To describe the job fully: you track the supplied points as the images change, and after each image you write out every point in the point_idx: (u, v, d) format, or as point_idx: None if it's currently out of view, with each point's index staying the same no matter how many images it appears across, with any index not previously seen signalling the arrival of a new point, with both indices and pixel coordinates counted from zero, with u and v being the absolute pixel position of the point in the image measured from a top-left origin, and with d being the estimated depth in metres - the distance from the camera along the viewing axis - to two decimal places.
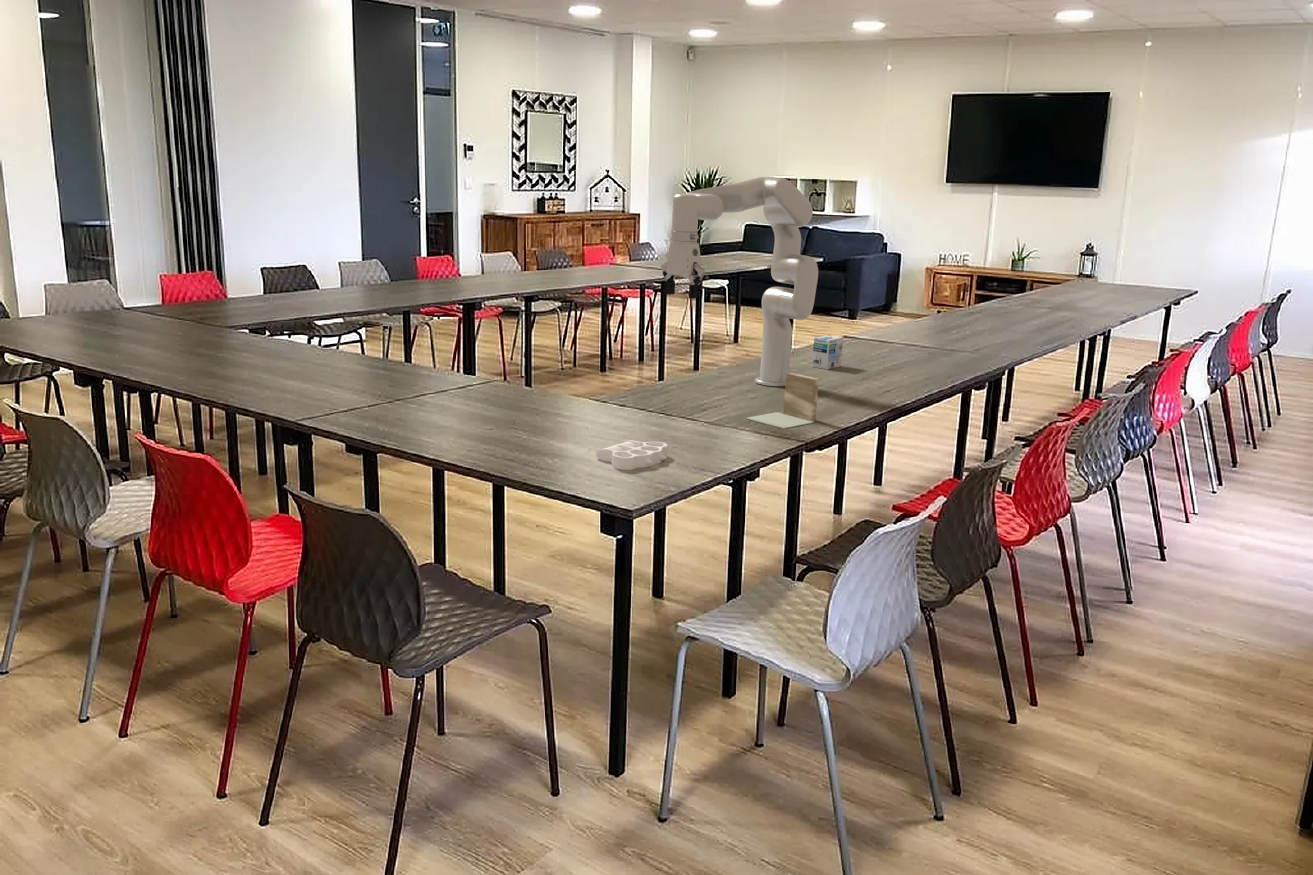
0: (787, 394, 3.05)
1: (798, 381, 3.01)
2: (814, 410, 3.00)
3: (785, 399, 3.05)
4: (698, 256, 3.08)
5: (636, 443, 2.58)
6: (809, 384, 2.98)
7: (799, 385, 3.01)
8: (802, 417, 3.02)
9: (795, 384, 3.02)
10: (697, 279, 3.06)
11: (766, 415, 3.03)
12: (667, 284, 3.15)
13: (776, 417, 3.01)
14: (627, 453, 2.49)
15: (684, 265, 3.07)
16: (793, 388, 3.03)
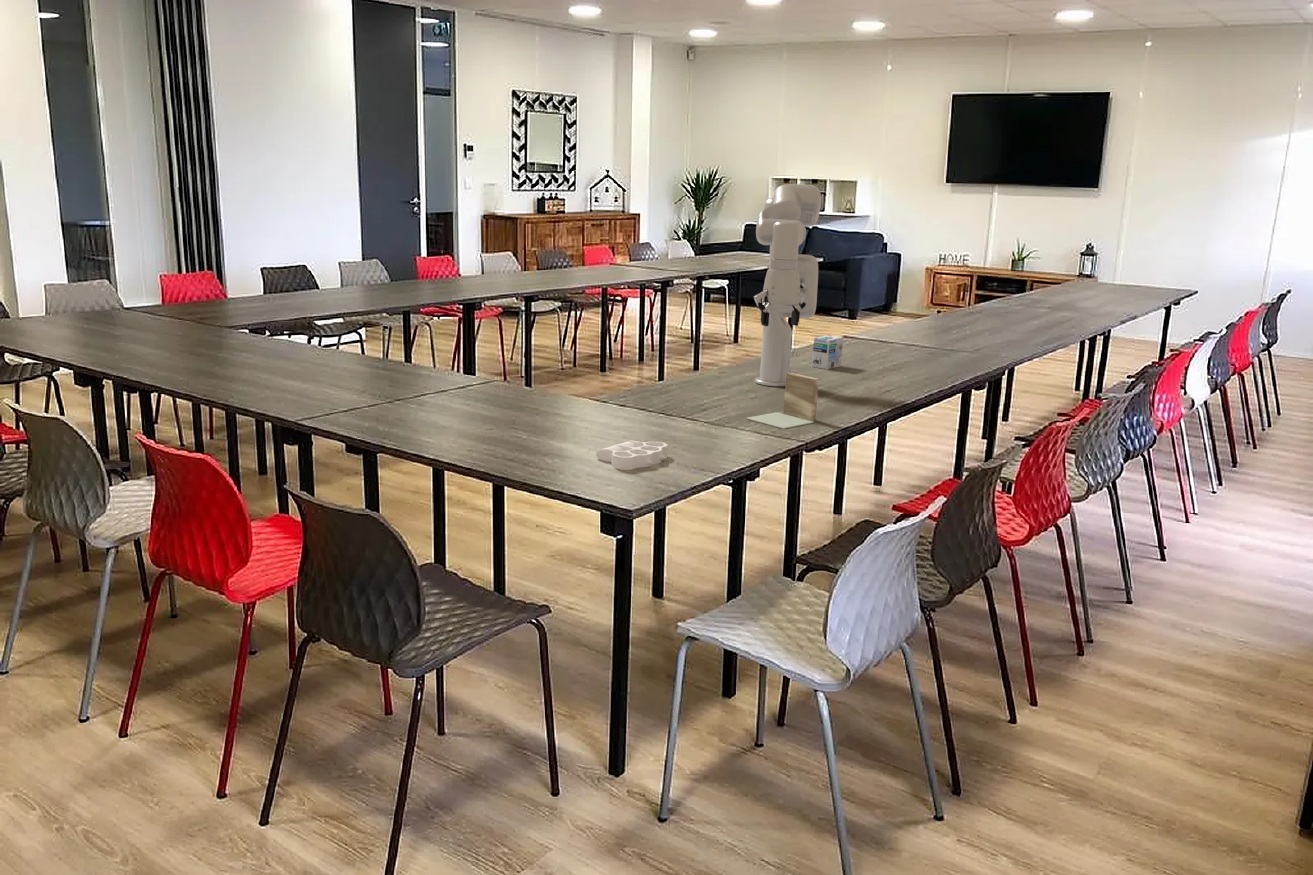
0: (787, 394, 3.05)
1: (798, 381, 3.01)
2: (814, 410, 3.00)
3: (785, 399, 3.05)
4: None
5: (636, 443, 2.58)
6: (809, 384, 2.98)
7: (799, 385, 3.01)
8: (802, 417, 3.02)
9: (795, 384, 3.02)
10: (804, 305, 3.06)
11: (766, 415, 3.03)
12: (768, 315, 3.02)
13: (776, 417, 3.01)
14: (627, 453, 2.49)
15: (794, 293, 3.03)
16: (793, 388, 3.03)
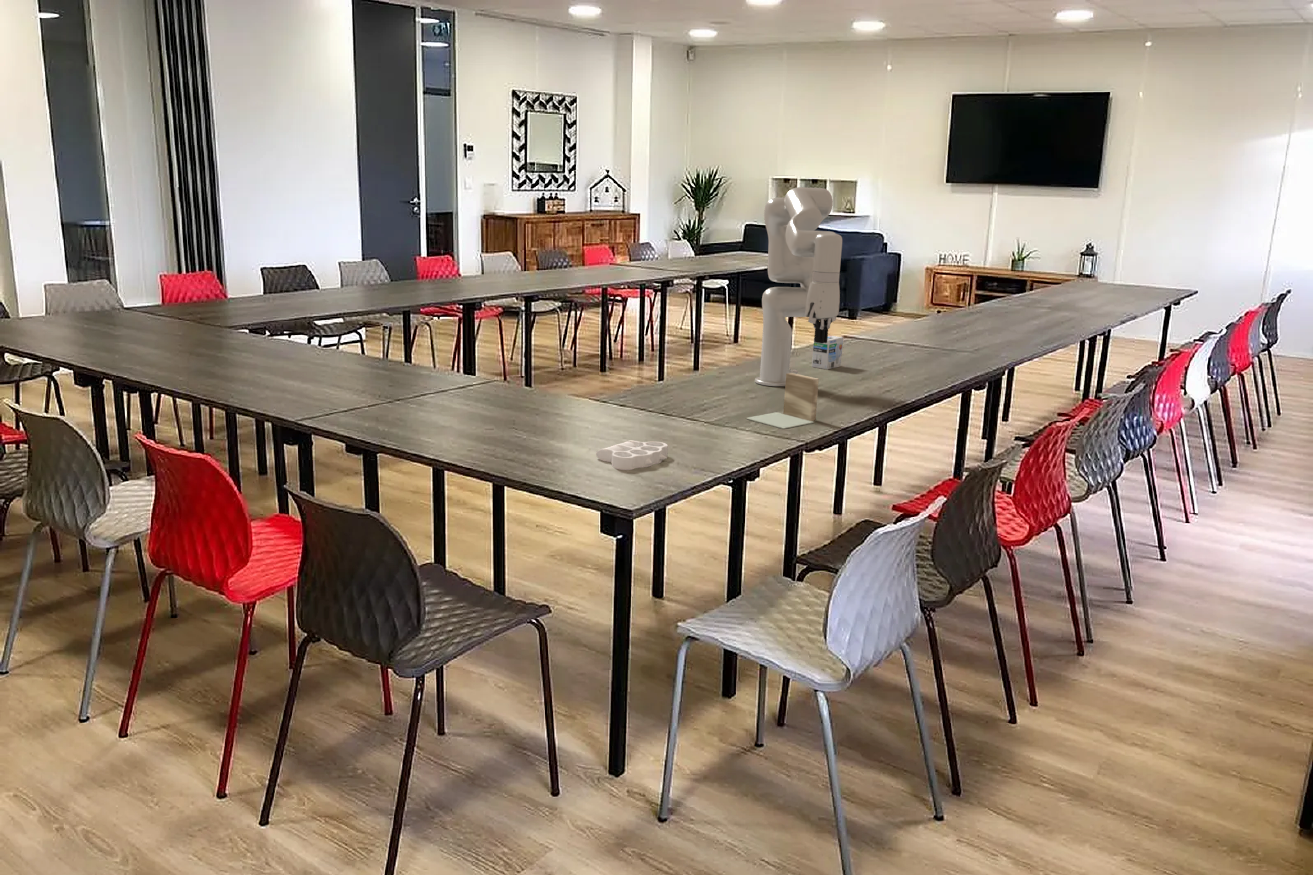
0: (787, 394, 3.05)
1: (798, 381, 3.01)
2: (814, 410, 3.00)
3: (785, 399, 3.05)
4: None
5: (636, 443, 2.58)
6: (809, 384, 2.98)
7: (799, 385, 3.01)
8: (802, 417, 3.02)
9: (795, 384, 3.02)
10: (830, 322, 3.03)
11: (766, 415, 3.03)
12: (824, 332, 3.01)
13: (776, 417, 3.01)
14: (627, 453, 2.49)
15: (836, 305, 3.01)
16: (793, 388, 3.03)
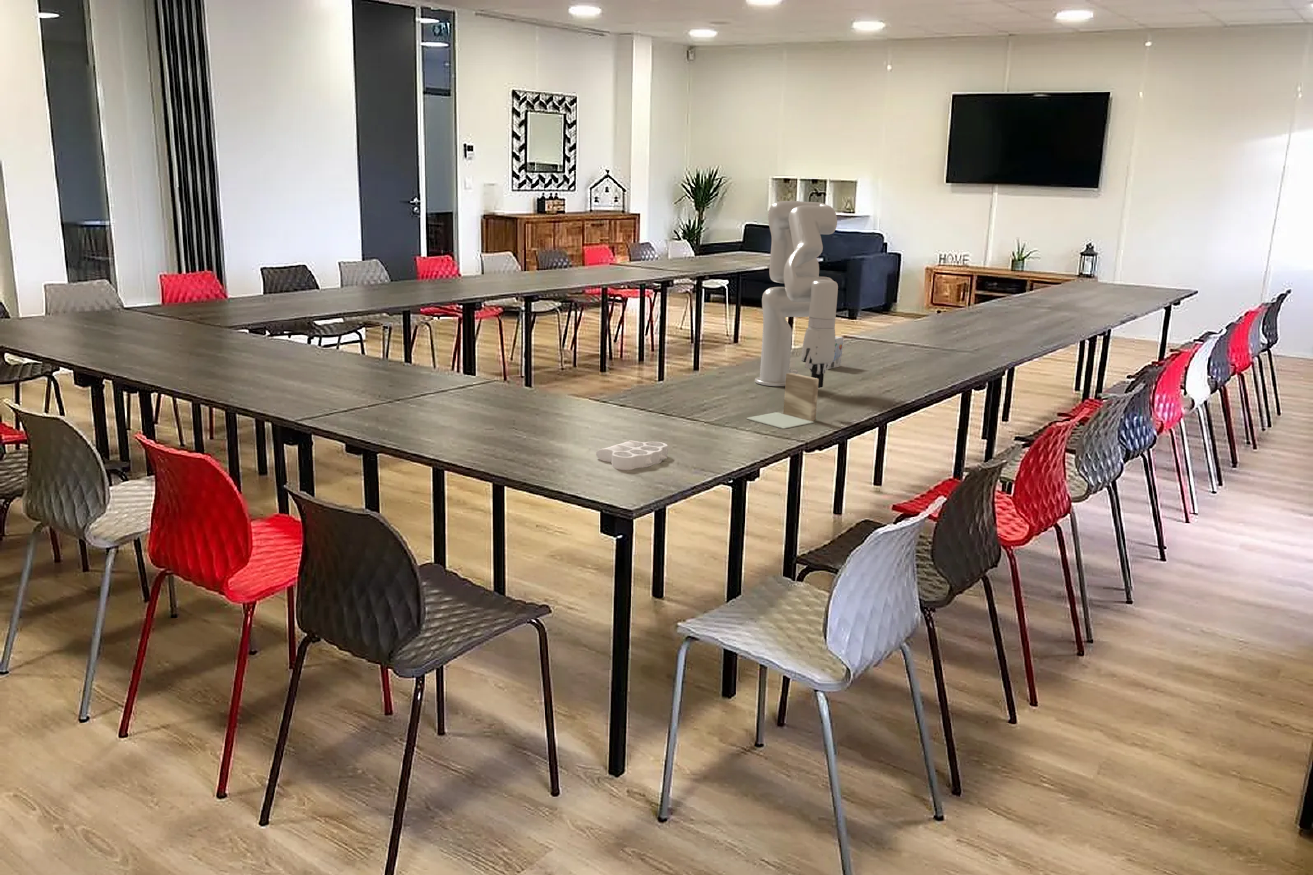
0: (787, 394, 3.05)
1: (798, 381, 3.01)
2: (814, 410, 3.00)
3: (785, 399, 3.05)
4: None
5: (636, 443, 2.58)
6: (809, 384, 2.98)
7: (799, 385, 3.01)
8: (802, 417, 3.02)
9: (795, 384, 3.02)
10: (826, 366, 3.06)
11: (766, 415, 3.03)
12: (820, 377, 3.05)
13: (776, 417, 3.01)
14: (627, 453, 2.49)
15: (832, 350, 3.04)
16: (793, 388, 3.03)
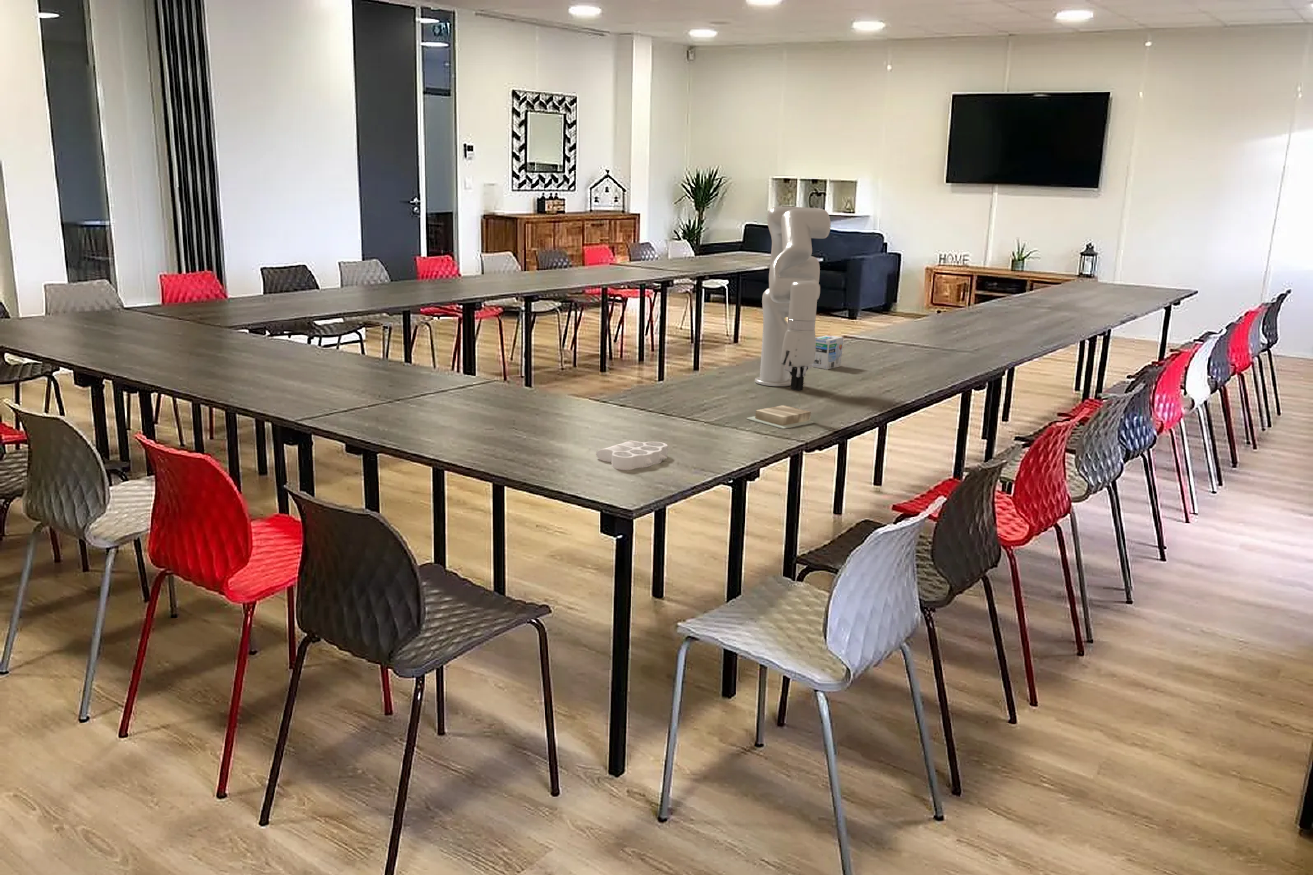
0: None
1: None
2: (803, 416, 2.97)
3: None
4: None
5: (636, 443, 2.58)
6: None
7: None
8: None
9: None
10: (806, 369, 3.00)
11: None
12: (800, 380, 2.99)
13: None
14: (627, 453, 2.49)
15: (812, 353, 2.98)
16: None
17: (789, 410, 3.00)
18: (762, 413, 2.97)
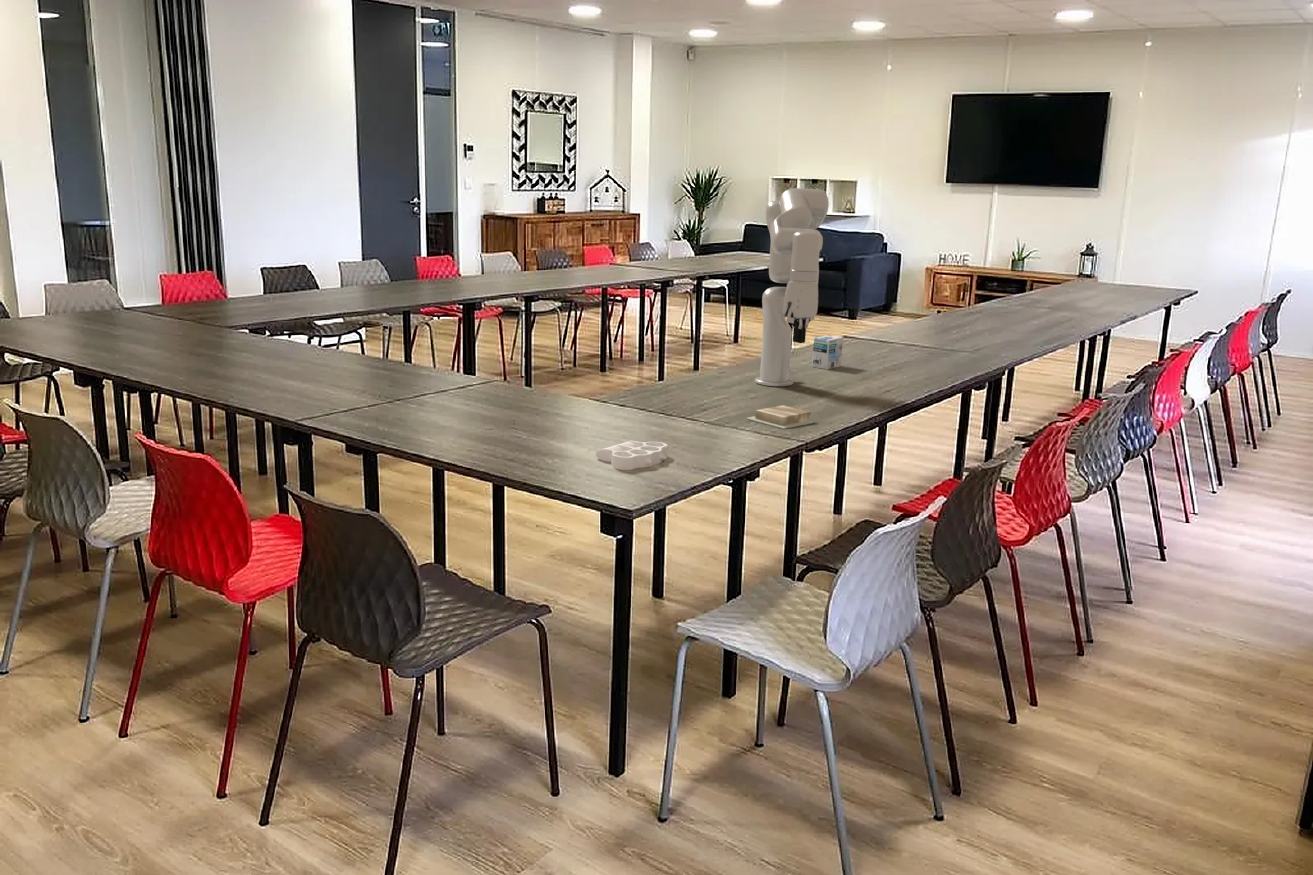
0: None
1: None
2: (803, 416, 2.97)
3: None
4: None
5: (636, 443, 2.58)
6: None
7: None
8: None
9: None
10: (808, 321, 2.98)
11: None
12: (802, 332, 2.96)
13: None
14: (627, 453, 2.49)
15: (814, 304, 2.96)
16: None
17: (789, 410, 3.00)
18: (762, 413, 2.97)
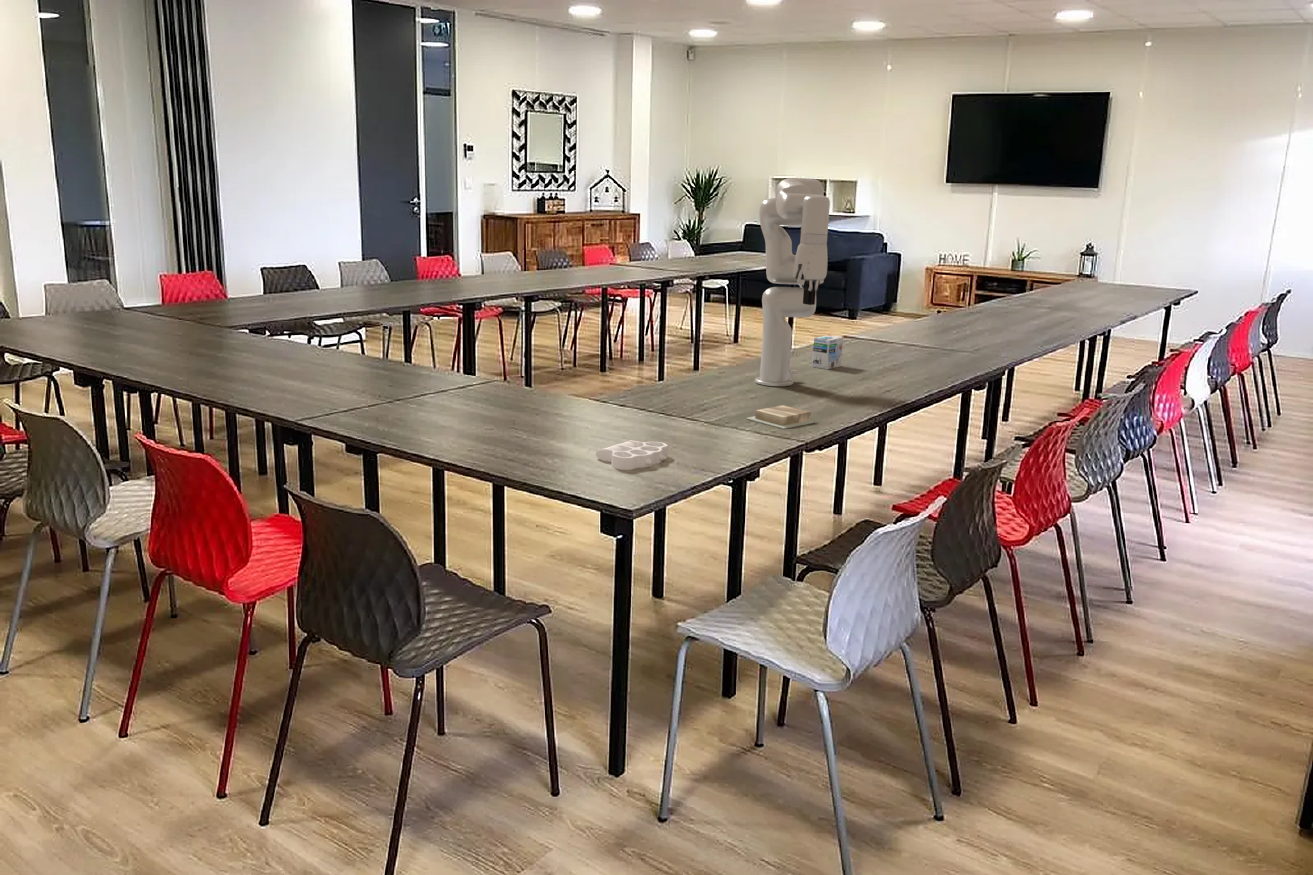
0: None
1: None
2: (803, 416, 2.97)
3: None
4: None
5: (636, 443, 2.58)
6: None
7: None
8: None
9: None
10: (818, 284, 3.07)
11: None
12: (812, 294, 3.05)
13: None
14: (627, 453, 2.49)
15: (824, 267, 3.05)
16: None
17: (789, 410, 3.00)
18: (762, 413, 2.97)
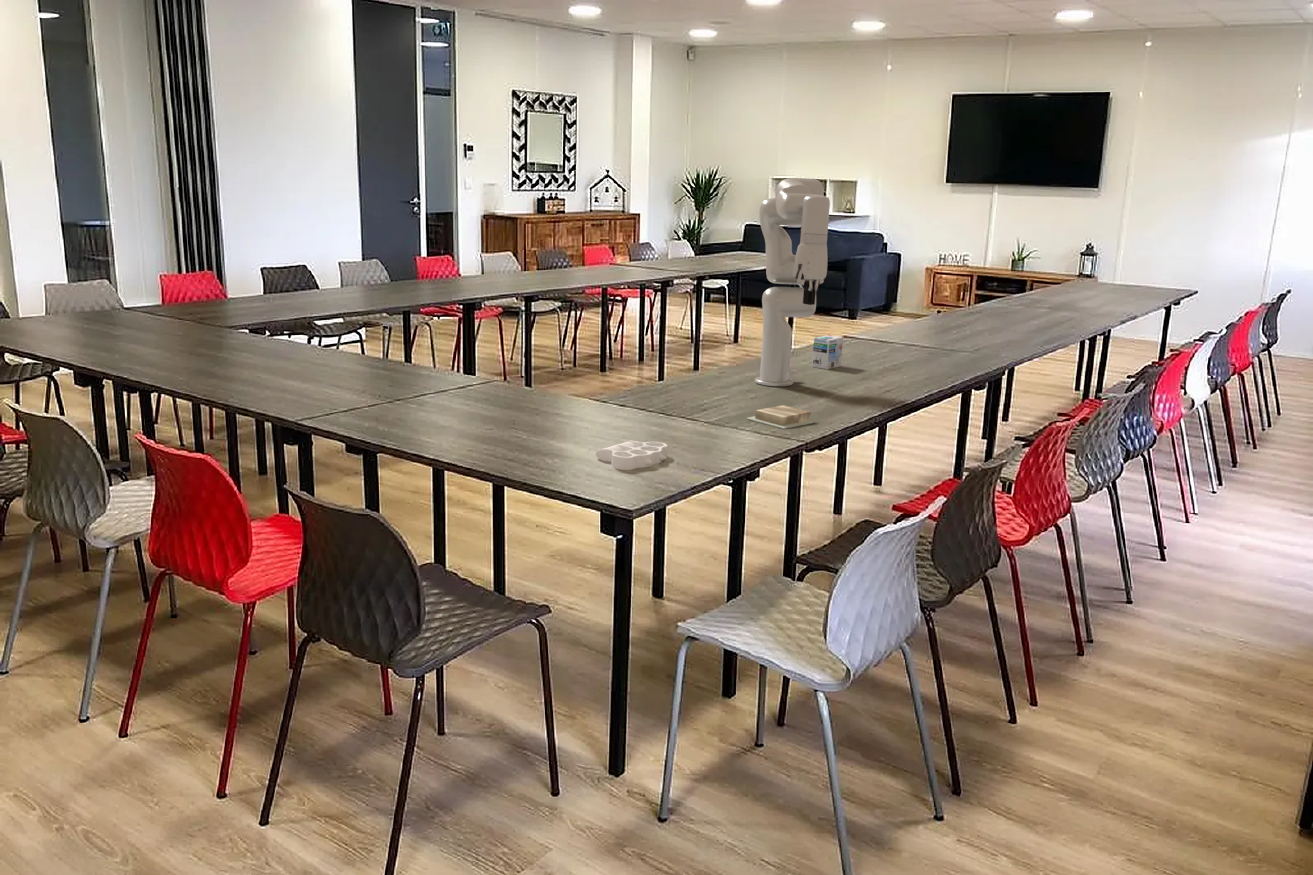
0: None
1: None
2: (803, 416, 2.97)
3: None
4: None
5: (636, 443, 2.58)
6: None
7: None
8: None
9: None
10: (818, 284, 3.07)
11: None
12: (812, 294, 3.05)
13: None
14: (627, 453, 2.49)
15: (824, 267, 3.05)
16: None
17: (789, 410, 3.00)
18: (762, 413, 2.97)
